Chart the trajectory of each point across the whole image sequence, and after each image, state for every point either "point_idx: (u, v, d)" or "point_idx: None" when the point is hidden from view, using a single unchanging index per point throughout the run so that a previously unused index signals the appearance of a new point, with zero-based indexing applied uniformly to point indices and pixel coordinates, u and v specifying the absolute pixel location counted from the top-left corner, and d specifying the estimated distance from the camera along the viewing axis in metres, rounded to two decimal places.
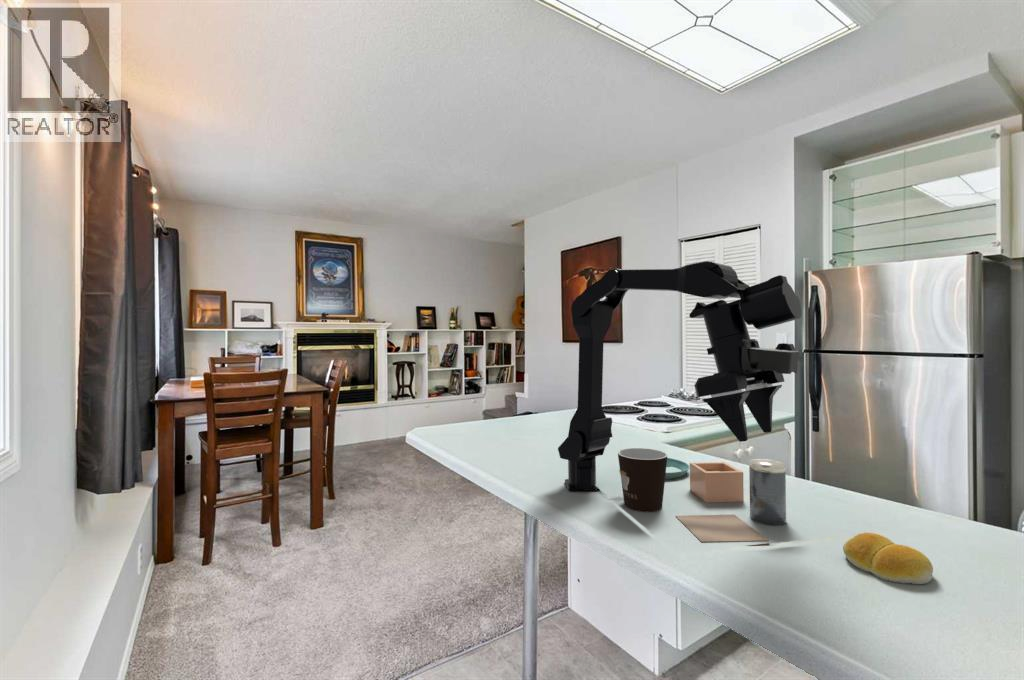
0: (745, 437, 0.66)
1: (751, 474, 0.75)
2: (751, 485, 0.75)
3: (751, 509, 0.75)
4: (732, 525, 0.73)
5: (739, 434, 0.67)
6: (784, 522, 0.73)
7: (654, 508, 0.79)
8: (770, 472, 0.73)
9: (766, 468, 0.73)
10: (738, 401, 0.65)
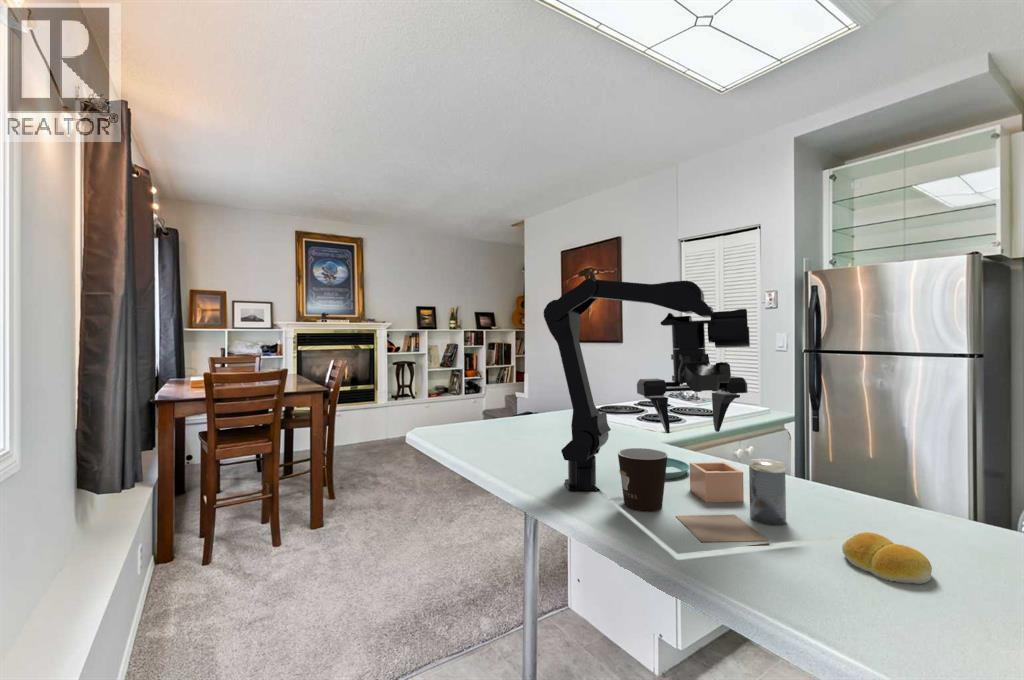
0: (666, 430, 0.85)
1: (751, 474, 0.75)
2: (751, 485, 0.75)
3: (751, 509, 0.75)
4: (732, 525, 0.73)
5: (664, 427, 0.86)
6: (784, 522, 0.73)
7: (654, 508, 0.79)
8: (770, 472, 0.73)
9: (766, 467, 0.73)
10: (657, 403, 0.84)
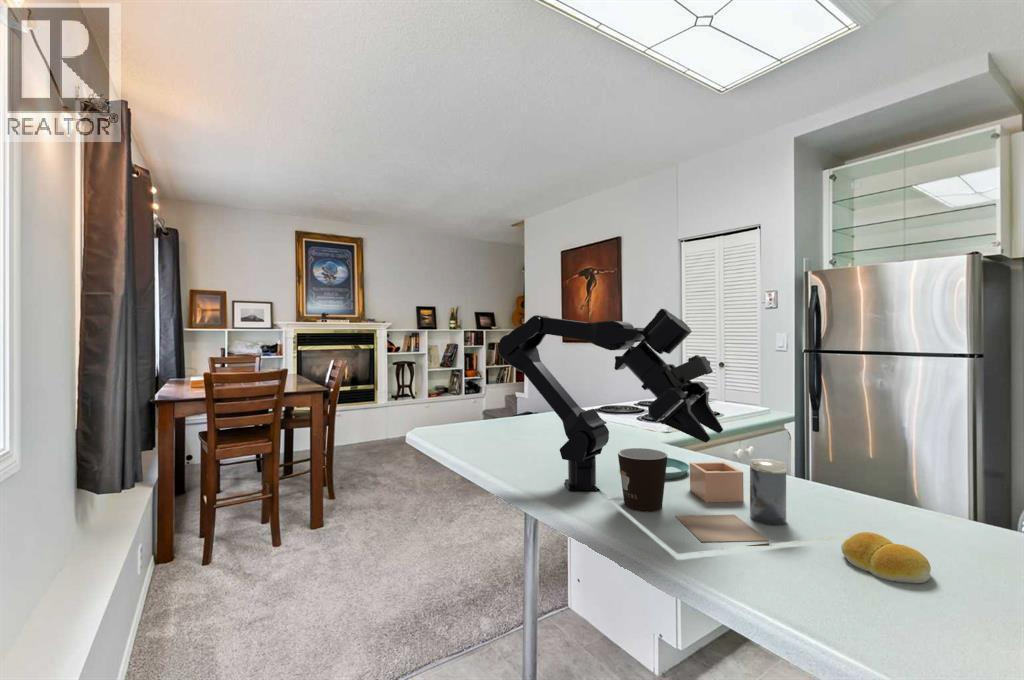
0: (707, 436, 0.76)
1: (752, 474, 0.75)
2: (752, 485, 0.75)
3: (751, 509, 0.75)
4: (732, 525, 0.73)
5: (702, 436, 0.76)
6: (784, 522, 0.73)
7: (654, 508, 0.79)
8: (771, 472, 0.73)
9: (767, 468, 0.73)
10: (686, 409, 0.76)
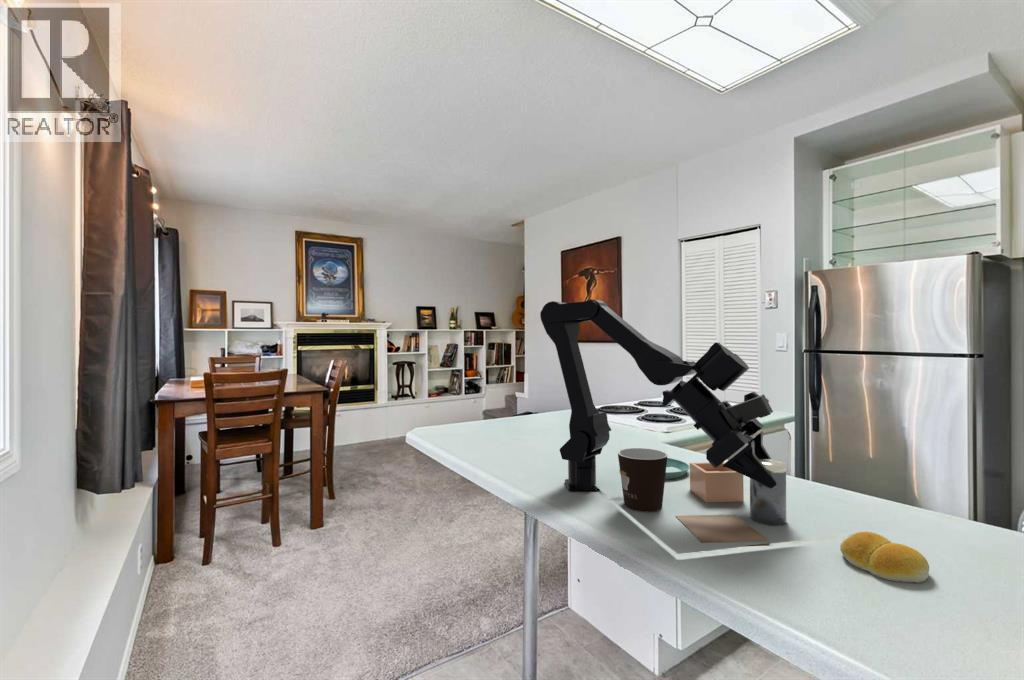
0: (774, 481, 0.72)
1: None
2: (752, 485, 0.75)
3: (751, 509, 0.75)
4: (732, 525, 0.73)
5: (768, 481, 0.72)
6: (784, 522, 0.73)
7: (654, 508, 0.79)
8: (771, 472, 0.73)
9: (767, 468, 0.73)
10: (751, 452, 0.72)
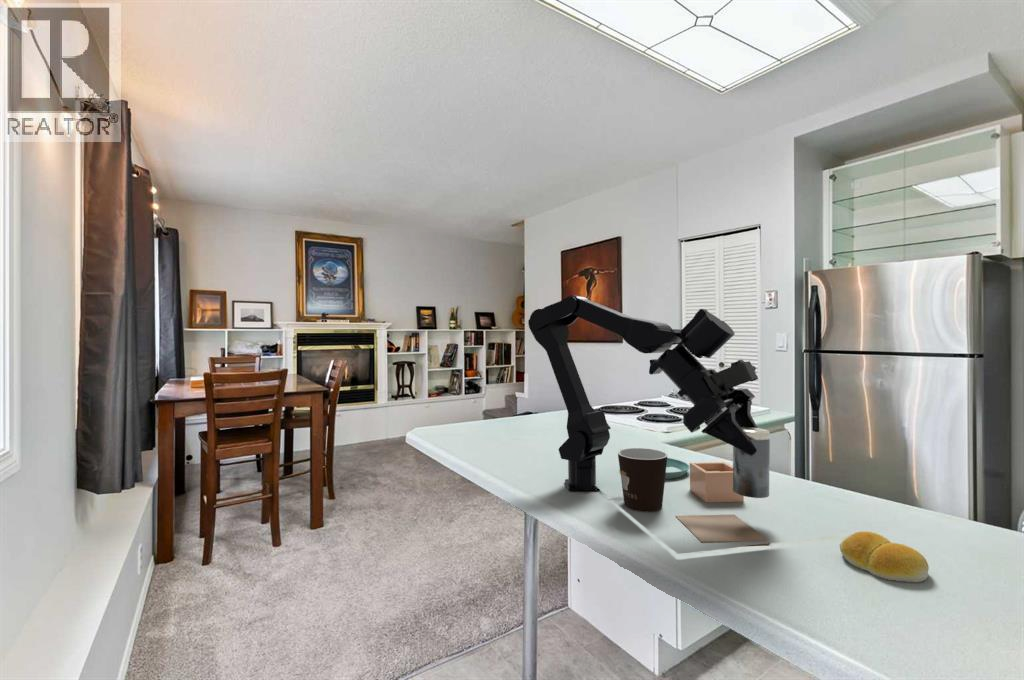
0: (754, 448, 0.70)
1: None
2: (734, 452, 0.74)
3: (733, 477, 0.74)
4: (732, 525, 0.73)
5: (747, 448, 0.71)
6: (766, 490, 0.71)
7: (654, 508, 0.79)
8: (752, 439, 0.71)
9: (748, 434, 0.71)
10: (730, 418, 0.71)
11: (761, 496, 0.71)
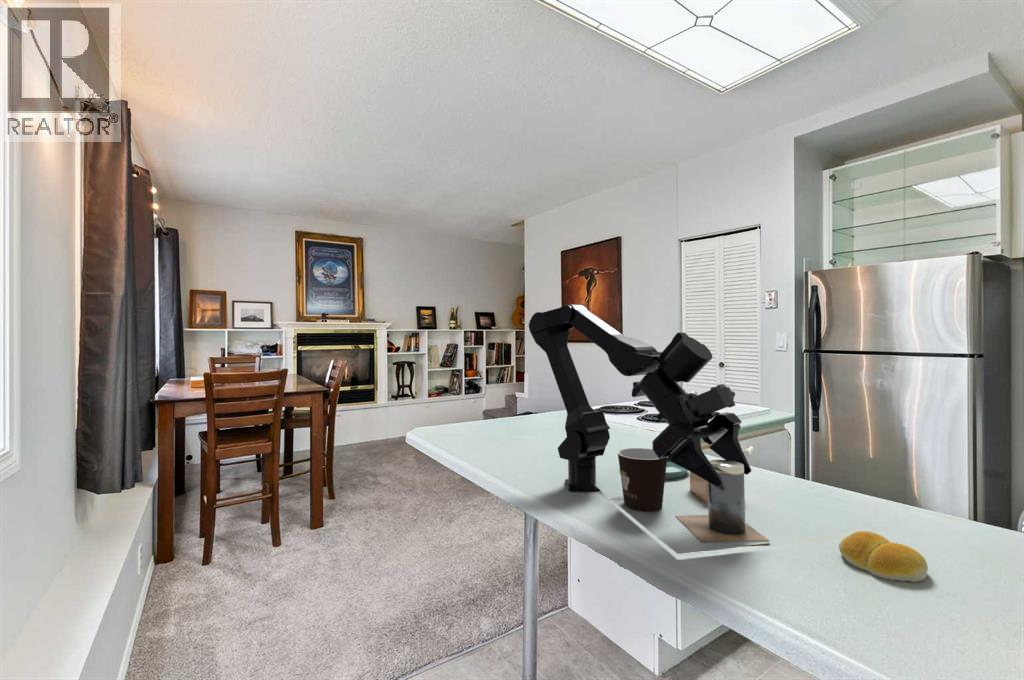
0: (718, 480, 0.67)
1: None
2: (708, 486, 0.72)
3: (708, 511, 0.72)
4: None
5: (712, 479, 0.68)
6: (740, 527, 0.69)
7: (654, 508, 0.79)
8: (723, 473, 0.70)
9: (719, 469, 0.70)
10: (693, 447, 0.69)
11: (734, 533, 0.69)
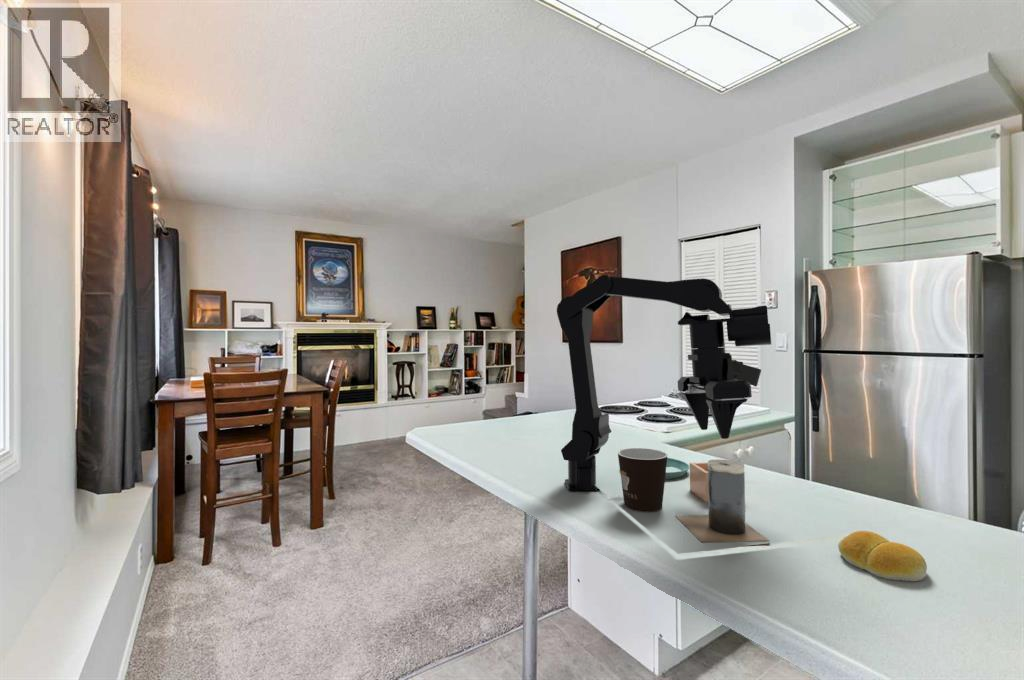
0: (728, 435, 0.78)
1: (708, 474, 0.72)
2: (708, 486, 0.72)
3: (709, 511, 0.72)
4: None
5: (724, 432, 0.78)
6: (740, 527, 0.69)
7: (654, 508, 0.79)
8: (723, 472, 0.70)
9: (719, 468, 0.70)
10: (738, 405, 0.77)
11: (734, 532, 0.69)
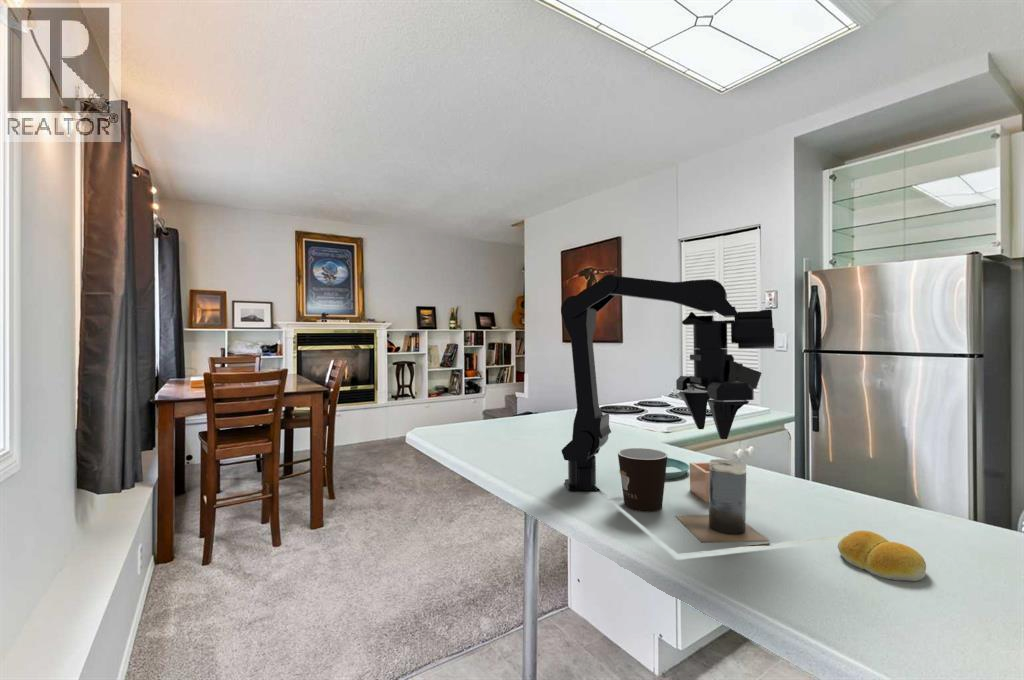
0: (727, 436, 0.79)
1: (709, 474, 0.72)
2: (709, 485, 0.72)
3: (709, 511, 0.72)
4: None
5: (724, 433, 0.79)
6: (741, 527, 0.69)
7: (654, 508, 0.79)
8: (726, 473, 0.69)
9: (722, 468, 0.70)
10: (739, 407, 0.78)
11: (735, 532, 0.69)
